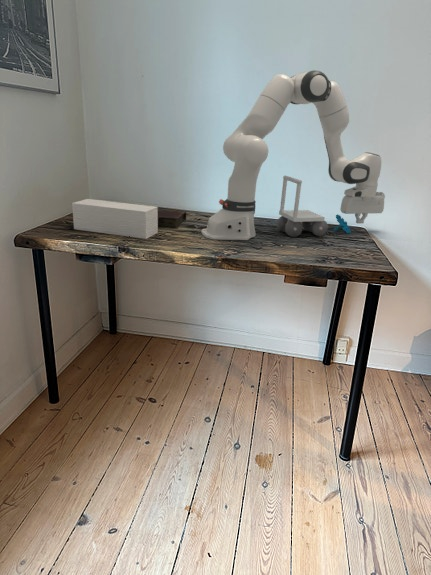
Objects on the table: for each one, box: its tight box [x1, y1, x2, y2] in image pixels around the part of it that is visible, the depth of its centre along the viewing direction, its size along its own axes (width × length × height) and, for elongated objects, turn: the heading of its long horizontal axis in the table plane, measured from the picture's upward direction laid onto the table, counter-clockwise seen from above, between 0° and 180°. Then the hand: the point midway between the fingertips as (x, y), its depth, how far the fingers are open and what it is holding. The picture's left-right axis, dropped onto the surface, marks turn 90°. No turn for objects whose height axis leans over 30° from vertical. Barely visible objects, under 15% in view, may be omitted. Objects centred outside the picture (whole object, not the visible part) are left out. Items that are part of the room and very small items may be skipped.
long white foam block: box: [71, 198, 159, 240], centre depth 165 cm, size 32×11×11 cm, turn 73°
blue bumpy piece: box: [333, 214, 352, 235], centre depth 183 cm, size 11×6×10 cm
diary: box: [157, 208, 187, 230], centre depth 183 cm, size 19×25×5 cm
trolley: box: [276, 175, 329, 238], centre depth 173 cm, size 19×14×23 cm
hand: (359, 223), depth 184 cm, fingers closed
